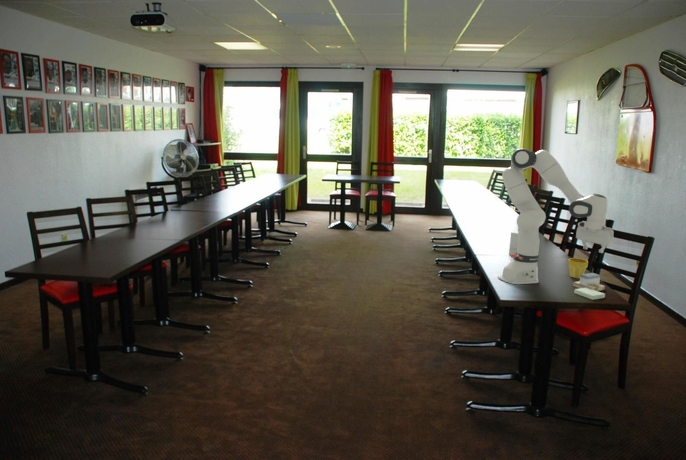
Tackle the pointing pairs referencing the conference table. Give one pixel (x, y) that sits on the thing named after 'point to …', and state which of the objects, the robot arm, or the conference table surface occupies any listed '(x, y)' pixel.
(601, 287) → the stand
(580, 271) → the plant pot
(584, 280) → the housing
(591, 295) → the stand
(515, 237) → the supplement box
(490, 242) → the conference table surface
